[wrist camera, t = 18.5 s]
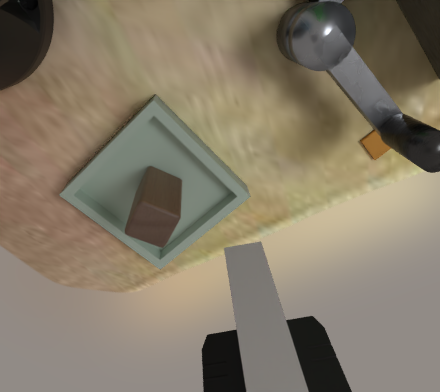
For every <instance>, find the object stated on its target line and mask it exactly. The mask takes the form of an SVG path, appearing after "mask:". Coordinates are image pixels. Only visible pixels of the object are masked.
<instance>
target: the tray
mask: <svg viewBox="0 0 440 392" xmlns="http://www.w3.org/2000/svg"><path fill="white" fill-rule="evenodd" d="M149 166H153V167H155V168H157V169H160V170H162V171H164V172H166V173H169V174H171V175H173V176H176V177H178V178H180V179H181V180H182V199H181V219H180V220H179V222H178V224H177V226H176V228H175V229H174V231H173V233H172V235H171V237H170V239H169V240H168V242H167V244H166V245H165V246H164V247H163V248H160V247H157V246H155V245H152V244H149V243H147V242H144V241H141V240H138V239H136V238H133V237H130V236H127V235H126V234H125V227H126V223H127V220H128V217H129V213H130V210H131V207H132V203H133V200H134V197H135V193H136V191H137V189H138V187H139V185H140V182H141V180H142V178H143V176H144V174H145V172H146V170H147V168H148V167H149ZM60 196H61V197H62V198H64V199H65V200H66V201H68V202H69V203H71V204H72V205H73V206H75V207H76V208H77V209H79V210H80V211H81V212H83V213H84V214H85V215H87V216H88V217H90V218H91V219H92V220H94V221H95V222H96V223H98V224H99V225H100V226H102V227H103V228H104V229H106V230H107V231H109V232H110V233H111V234H113V235H114V236H115V237H117V238H118V239H119V240H121V241H122V242H123V243H125V244H126V245H128V246H129V247H130V248H132V249H133V250H134V251H136V252H137V253H138V254H140V255H141V256H142V257H144V258H145V259H146V260H148V261H149V262H151V263H152V264H153V265H155V266H156V267H157V268H159V269H162V268H163V267H164V266H165V265H167V264H168V263H169V262H170V261H172V260H173V259H174V258H175V257H177V256H178V255H179V254H180V253H181V252H183V251H184V250H185V249H186V248H188V247H189V246H190V245H191V244H193V243H194V242H195V241H196V240H197V239H199V238H200V237H201V236H202V235H204V234H205V233H206V232H207V231H209V230H210V229H211V228H212V227H214V226H215V225H216V224H217V223H218V222H220V221H221V220H222V219H223V218H225V217H226V216H227V215H228V214H230V213H231V212H232V211H233V210H235V209H236V208H237V207H238V206H239V205H241V204H242V203H243V202H244V201H246V200H247V199H248V198H249V197H251V196H250V193H249V190H248V187H247V185H246V184H245V183H244V182H243V181H242V180H241V179H240V178H239V177H238V176H237V175H236V174H235V173H234V172H233V171H232V170H231V169H230V168H229V167H228V166H227V165H226V164H225V163H224V162H223V161H222V160H221V159H220V158H219V157H218V156H217V155H216V154H215V153H214V152H213V151H212V150H211V149H210V148H209V147H208V146H207V145H206V144H205V143H204V142H203V141H202V140H201V139H200V138H199V137H198V136H197V135H196V134H195V133H194V132H193V131H192V130H191V129H190V128H189V127H188V126H187V125H186V124H185V123H184V122H183V121H182V120H181V119H180V118H179V117H178V116H177V115H176V114H175V113H174V112H173V111H172V110H171V109H170V108H169V107H168V106H167V105H166V104H165V103H164V102H163V101H162V100H161V99H160V98H159V97H158V96H157V95H155V96H154V97H153V98H152V99H151V100H150V101H149V102H148V103H147V104H146V105H145V106H144V107H143V108H142V109H141V110H140V111H139V112H138V113H137V114H136V115H135V116H134V117H133V118H132V119H131V120H130V121H129V122H128V123H127V124H126V125H125V126H124V127H123V128H122V129H121V130H120V131H119V132H118V133H117V134H116V135H115V136H114V137H113V138H112V139H111V140H110V141H109V142H108V143H107V144H106V145H105V146H104V147H103V148H102V149H101V150H100V151H99V152H98V153H97V154H96V155H95V156H94V157H93V158H92V159H91V160H90V161H89V162H88V163H87V164H86V165H85V166H84V167H83V168H82V169H81V170H80V171H79V173H78V174H77V175H76V176H75V177H74V178H73V179H72V180H71V181H70V182H69V183H68V184H67V185H66V186H65V188H64V189H63V190H62V192H61V193H60Z"/></svg>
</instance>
